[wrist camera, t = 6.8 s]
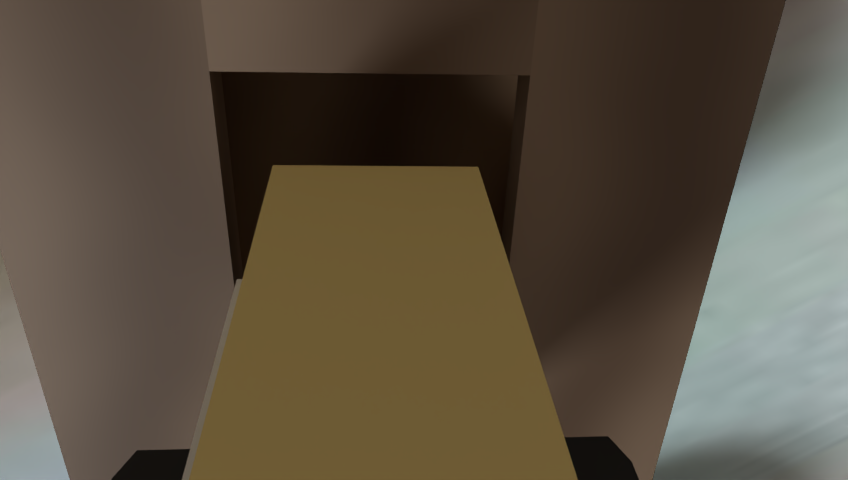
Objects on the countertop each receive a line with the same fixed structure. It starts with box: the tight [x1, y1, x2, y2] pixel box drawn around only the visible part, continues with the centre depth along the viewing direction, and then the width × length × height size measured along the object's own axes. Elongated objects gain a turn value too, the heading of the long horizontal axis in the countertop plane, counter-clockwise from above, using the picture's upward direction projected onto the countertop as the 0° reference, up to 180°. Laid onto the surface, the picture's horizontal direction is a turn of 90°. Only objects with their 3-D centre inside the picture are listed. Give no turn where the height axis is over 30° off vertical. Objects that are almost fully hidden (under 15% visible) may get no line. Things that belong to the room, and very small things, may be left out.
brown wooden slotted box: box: [0, 0, 786, 480], centre depth 19 cm, size 14×13×10 cm
